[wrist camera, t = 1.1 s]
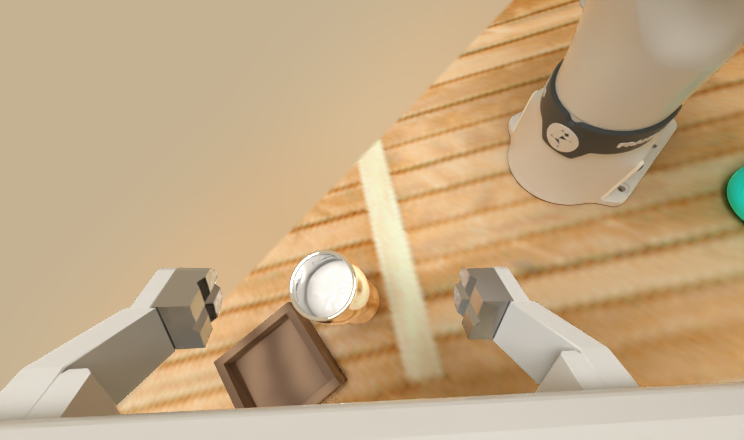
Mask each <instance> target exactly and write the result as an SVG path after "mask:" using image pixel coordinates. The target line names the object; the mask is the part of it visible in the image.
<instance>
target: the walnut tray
mask: <svg viewBox="0 0 744 440" xmlns="http://www.w3.org/2000/svg"><path fill="white" fill-rule="evenodd" d="M214 364H215V366H216V368H217V370H218V373H219V375H220V377H221V379H222V381H223V383H224V385H225V388H226V390H227V392H228V394H229V396H230V398H231V400H232V403H233V405H234V407H235V409H236V408H255V407H274V406H293V405H312V404H320V403H321V402H322V401H324V400H325V399H326V398H327V397H328V396H329V395H331V394H332V393H333V392H334V391H335V390H337V389H338V388H339V387H340V386H341V385H342V384H344V383H345V382H346V381H347V379H346V377H345V376H344V374H343V373H342V371H341V369H340V368H339V366H338V365H337V363H336V362H335V360H334V358H333V357H332V355H331V354H330V352H329V351H328V349H327V348H326V346H325V344H324V343H323V341H322V340H321V338H320V337H319V335H318V333H317V332H316V330H315V329H314V327H313V326H312V324H311V322H310V321H309V319H307V318H305V317H304V316H302V315H301V314H300V313H299V312H298V311H297V310H296V309H295V308H294V306H293V304H292V303H291V302H288V303H286V304H285V305H284V306H283V307H281V308H280V309H279V310H278V311H276V312H275V313H274V314H273V315H271V316H270V317H269V318H268V319H267V320H265V321H264V322H263V323H262V324H260V325H259V326H258V327H257V328H255V329H254V330H253V331H252V332H251V333H249V334H248V335H247V336H246V337H244V338H243V339H242V340H241V341H239V342H238V343H237V344H236V345H234V346H233V347H232V348H231V349H230V350H228V351H227V352H226V353H225V354H223V355H222V356H221V357H220V358H218V359H217V360H216V361H215V362H214Z"/></svg>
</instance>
